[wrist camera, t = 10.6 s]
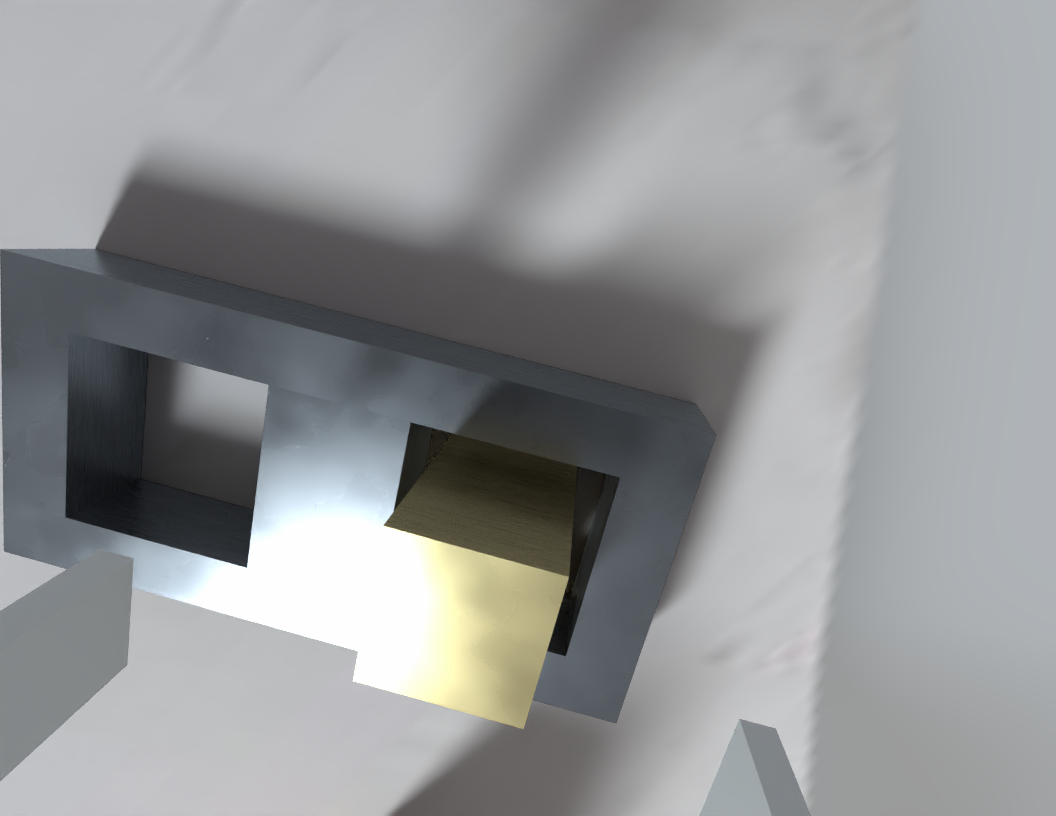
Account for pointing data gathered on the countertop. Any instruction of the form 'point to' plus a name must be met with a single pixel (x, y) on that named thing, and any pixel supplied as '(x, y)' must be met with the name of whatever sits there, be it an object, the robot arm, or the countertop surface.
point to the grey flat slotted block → (317, 454)
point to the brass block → (471, 581)
